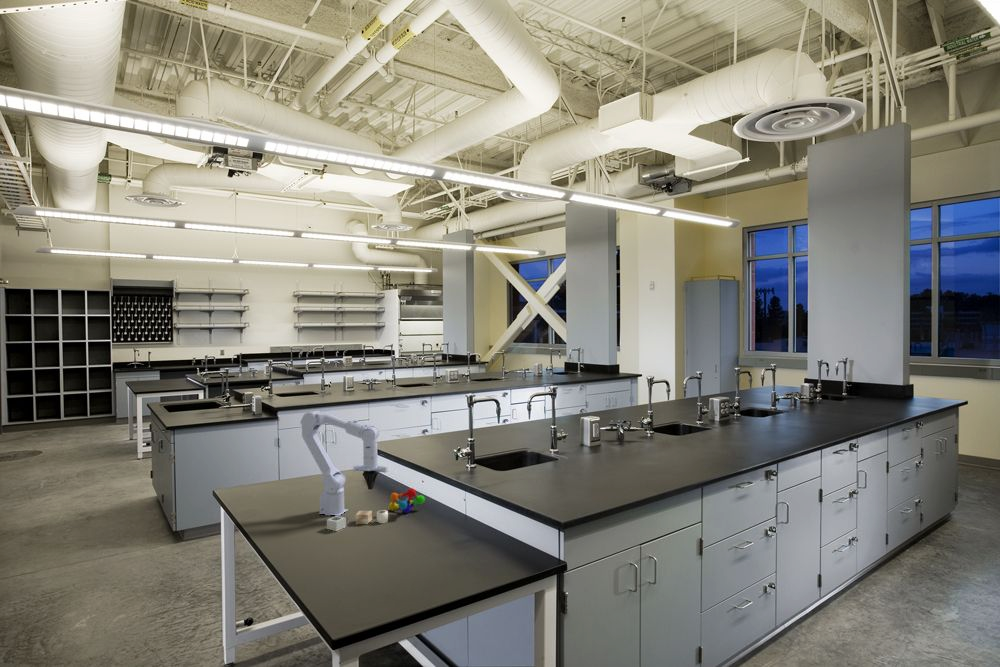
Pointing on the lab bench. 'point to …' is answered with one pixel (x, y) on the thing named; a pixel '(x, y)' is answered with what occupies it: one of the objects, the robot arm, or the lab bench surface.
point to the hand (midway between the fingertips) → (370, 488)
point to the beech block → (363, 517)
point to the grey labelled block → (336, 523)
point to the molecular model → (405, 501)
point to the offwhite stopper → (382, 516)
